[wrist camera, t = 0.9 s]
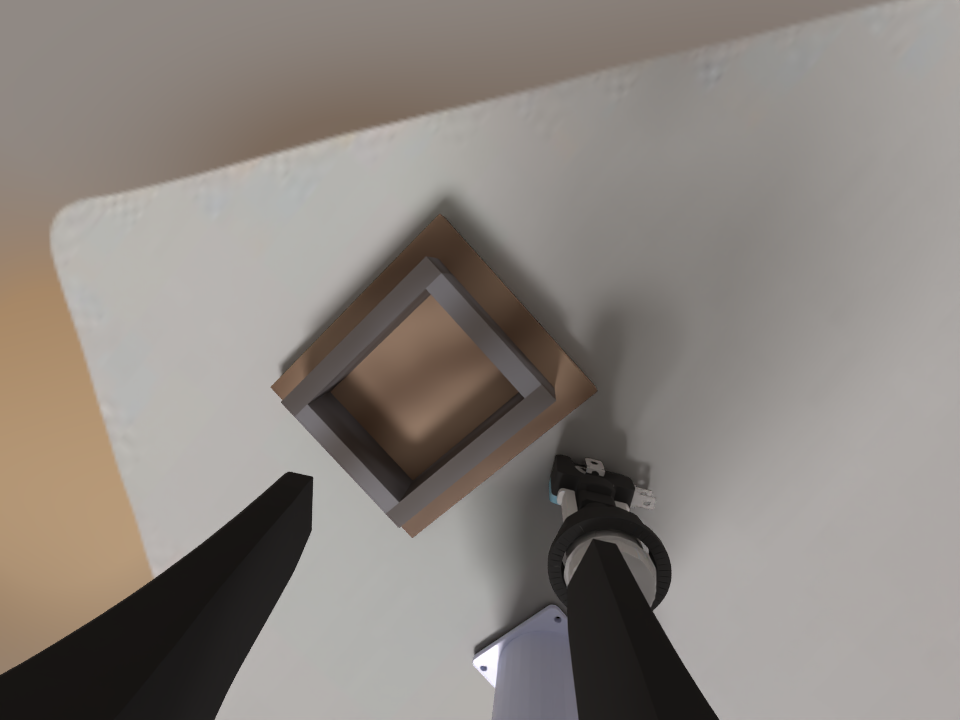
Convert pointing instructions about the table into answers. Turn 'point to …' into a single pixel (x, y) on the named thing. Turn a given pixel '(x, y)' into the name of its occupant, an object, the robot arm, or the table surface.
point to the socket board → (431, 380)
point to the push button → (604, 526)
